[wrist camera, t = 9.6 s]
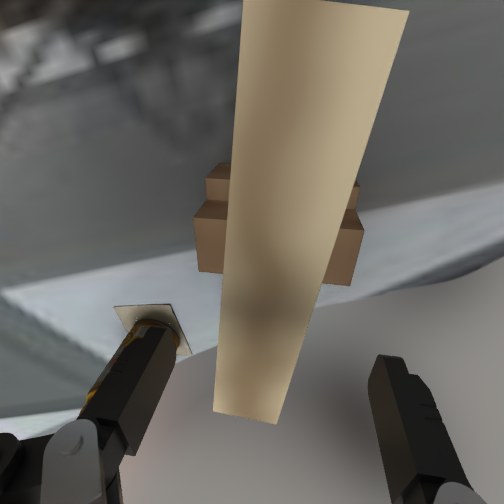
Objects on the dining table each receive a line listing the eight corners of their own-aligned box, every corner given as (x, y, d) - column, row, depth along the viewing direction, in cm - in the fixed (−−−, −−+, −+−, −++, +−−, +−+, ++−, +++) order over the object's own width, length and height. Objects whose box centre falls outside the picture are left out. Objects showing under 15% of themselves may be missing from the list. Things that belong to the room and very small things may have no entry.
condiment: (141, 354, 37) (82, 458, 26) (113, 305, 32) (31, 408, 22) (192, 353, 35) (150, 464, 25) (170, 303, 31) (109, 411, 21)
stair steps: (349, 170, 21) (370, 205, 15) (333, 249, 24) (345, 303, 19) (219, 163, 22) (190, 193, 16) (222, 240, 26) (200, 288, 20)
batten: (371, 34, 11) (409, 10, 7) (279, 367, 23) (276, 424, 19) (261, 20, 11) (244, -10, 8) (226, 357, 23) (212, 411, 19)
